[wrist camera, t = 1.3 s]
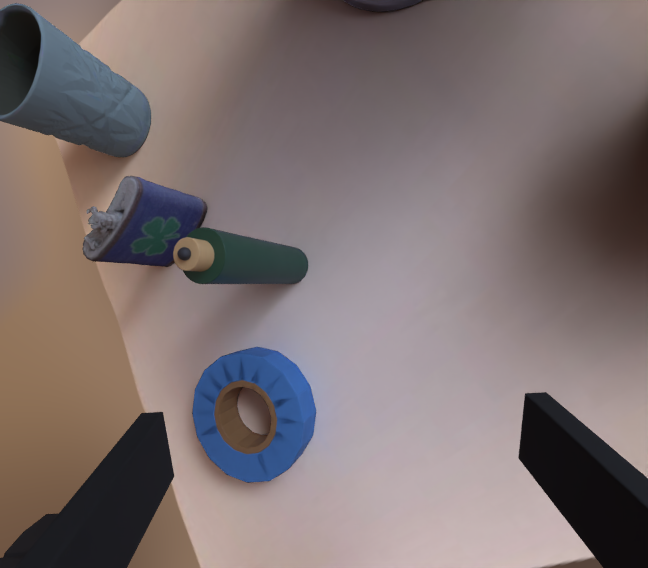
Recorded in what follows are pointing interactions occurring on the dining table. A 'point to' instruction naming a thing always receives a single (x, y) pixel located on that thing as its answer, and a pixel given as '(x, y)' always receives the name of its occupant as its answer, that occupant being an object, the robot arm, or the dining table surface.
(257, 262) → the green cylinder
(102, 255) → the flask
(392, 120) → the dining table surface
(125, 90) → the grey faceted cup
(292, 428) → the tape roll
